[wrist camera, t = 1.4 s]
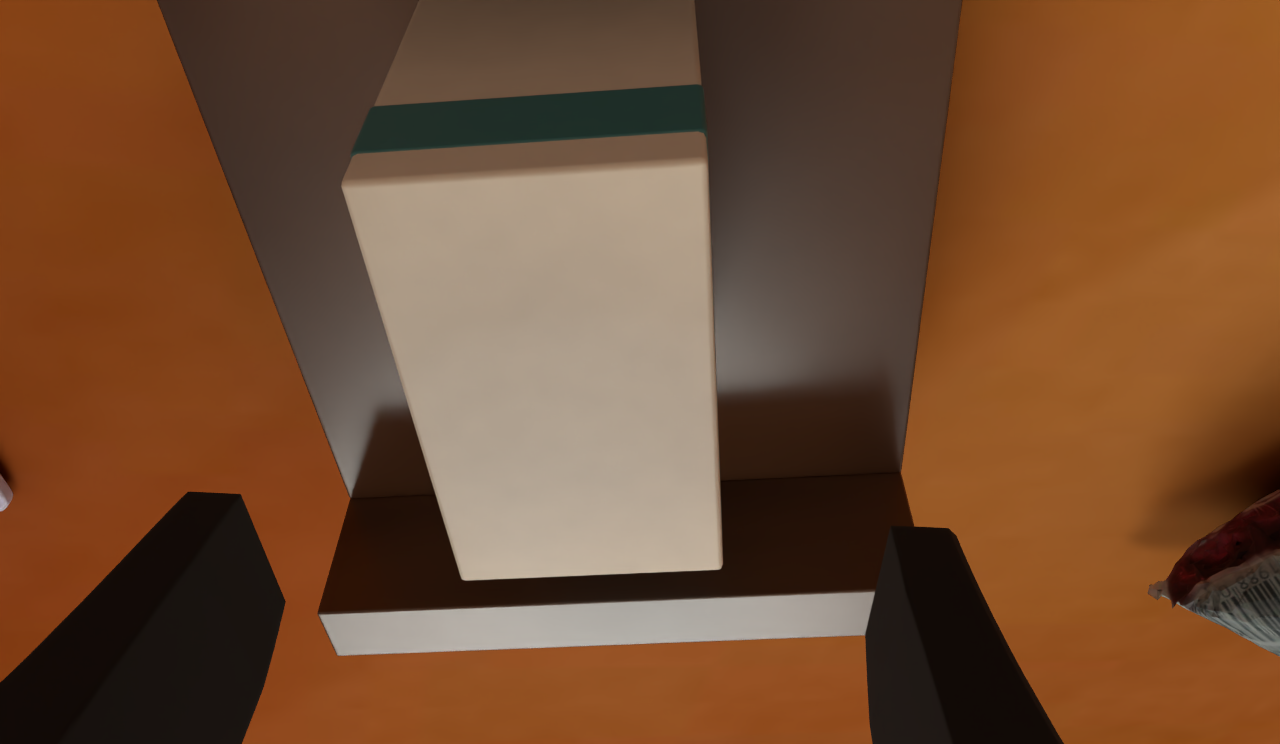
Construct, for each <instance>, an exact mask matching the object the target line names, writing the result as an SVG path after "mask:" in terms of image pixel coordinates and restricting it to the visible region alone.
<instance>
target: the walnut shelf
mask: <svg viewBox="0 0 1280 744" xmlns="http://www.w3.org/2000/svg"><path fill="white" fill-rule="evenodd" d="M157 1H158V4H159V7H160V9H161V12H162V14H163V17H164V20H165V22H166V25H167V27H168V30H169V32H170V35H171V38H172V40H173V43H174V45H175V48H176V51H177V53H178V56H179V58H180V61H181V63H182V66H183V69H184V71H185V74H186V76H187V79H188V81H189V84H190V87H191V89H192V92H193V94H194V97H195V100H196V102H197V105H198V107H199V110H200V112H201V115H202V118H203V120H204V123H205V125H206V128H207V131H208V133H209V136H210V138H211V141H212V143H213V146H214V149H215V151H216V154H217V156H218V159H219V162H220V164H221V167H222V169H223V172H224V174H225V177H226V180H227V182H228V185H229V187H230V190H231V193H232V195H233V198H234V200H235V203H236V205H237V208H238V211H239V213H240V216H241V218H242V221H243V223H244V226H245V229H246V231H247V234H248V236H249V239H250V242H251V244H252V247H253V249H254V252H255V254H256V257H257V260H258V262H259V265H260V267H261V270H262V273H263V275H264V278H265V280H266V283H267V285H268V288H269V291H270V293H271V296H272V298H273V301H274V304H275V306H276V309H277V311H278V314H279V316H280V319H281V322H282V324H283V327H284V329H285V332H286V334H287V337H288V340H289V342H290V345H291V347H292V350H293V353H294V355H295V358H296V360H297V363H298V365H299V368H300V371H301V373H302V376H303V378H304V381H305V384H306V386H307V389H308V391H309V394H310V396H311V399H312V402H313V404H314V407H315V409H316V412H317V415H318V417H319V420H320V422H321V425H322V427H323V430H324V433H325V435H326V438H327V440H328V443H329V446H330V448H331V451H332V453H333V456H334V458H335V461H336V464H337V466H338V469H339V471H340V474H341V476H342V479H343V482H344V484H345V487H346V489H347V492H348V495H349V497H350V502H349V505H348V509H347V512H346V516H345V519H344V523H343V526H342V530H341V533H340V537H339V540H338V544H337V547H336V551H335V554H334V558H333V561H332V565H331V568H330V572H329V575H328V578H327V582H326V585H325V589H324V592H323V596H322V599H321V603H320V606H319V610H318V616H319V618H320V620H321V622H322V624H323V626H324V629H325V631H326V633H327V635H328V637H329V639H330V641H331V643H332V646H333V648H334V650H335V652H336V654H337V655H338V656H346V655H371V654H397V653H423V652H448V651H474V650H500V649H525V648H551V647H577V646H602V645H628V644H654V643H679V642H705V641H731V640H756V639H782V638H808V637H833V636H859V635H865V633H866V628H867V624H868V620H869V616H870V611H871V607H872V603H873V599H874V594H875V590H876V586H877V582H878V577H879V573H880V569H881V565H882V560H883V556H884V552H885V548H886V543H887V539H888V535H889V530H890V526H911V527H914V523H913V519H912V515H911V511H910V507H909V503H908V499H907V495H906V491H905V487H904V483H903V479H902V475H901V469H902V462H903V454H904V446H905V438H906V431H907V423H908V415H909V408H910V400H911V392H912V385H913V377H914V369H915V361H916V354H917V346H918V338H919V331H920V323H921V315H922V308H923V300H924V292H925V284H926V277H927V269H928V261H929V254H930V246H931V238H932V230H933V223H934V215H935V207H936V200H937V192H938V184H939V177H940V169H941V161H942V153H943V146H944V138H945V130H946V123H947V115H948V107H949V99H950V92H951V84H952V76H953V69H954V61H955V53H956V46H957V38H958V30H959V22H960V15H961V7H962V0H694V2H695V14H696V26H697V38H698V49H699V61H700V73H701V85H702V87H703V89H704V98H705V110H706V121H707V132H708V159H709V186H710V213H711V240H712V267H713V294H714V321H715V348H716V375H717V402H718V429H719V456H720V483H721V510H722V547H723V565H722V568H721V569H719V570H701V571H677V572H654V573H630V574H607V575H584V576H560V577H537V578H513V579H490V580H467V581H466V580H463V579H461V576H460V573H459V570H458V566H457V563H456V560H455V557H454V553H453V550H452V547H451V544H450V540H449V537H448V534H447V530H446V527H445V524H444V521H443V517H442V514H441V511H440V508H439V504H438V501H437V498H436V494H435V491H434V488H433V485H432V481H431V478H430V475H429V472H428V468H427V465H426V462H425V458H424V455H423V452H422V449H421V445H420V442H419V439H418V435H417V432H416V429H415V426H414V422H413V419H412V416H411V413H410V409H409V406H408V403H407V399H406V396H405V393H404V390H403V386H402V383H401V380H400V377H399V373H398V370H397V367H396V363H395V360H394V357H393V354H392V350H391V347H390V344H389V341H388V337H387V334H386V331H385V327H384V324H383V321H382V318H381V314H380V311H379V308H378V305H377V301H376V298H375V295H374V291H373V288H372V285H371V282H370V278H369V275H368V272H367V269H366V265H365V262H364V259H363V255H362V252H361V249H360V246H359V242H358V239H357V236H356V233H355V229H354V226H353V223H352V219H351V216H350V213H349V210H348V206H347V203H346V200H345V197H344V193H343V190H342V187H341V185H342V180H343V178H344V175H345V173H346V171H347V168H348V166H349V164H350V161H351V157H350V155H351V151H352V149H353V146H354V144H355V142H356V140H357V137H358V135H359V133H360V130H361V128H362V126H363V123H364V121H365V119H366V116H367V114H368V112H369V109H370V108H372V107H374V105H375V103H376V100H377V98H378V96H379V93H380V91H381V89H382V86H383V84H384V81H385V79H386V77H387V74H388V72H389V70H390V67H391V65H392V63H393V60H394V58H395V56H396V53H397V51H398V49H399V46H400V44H401V42H402V39H403V37H404V35H405V32H406V30H407V28H408V25H409V23H410V20H411V18H412V16H413V13H414V11H415V9H416V6H417V4H418V2H419V0H157Z"/></svg>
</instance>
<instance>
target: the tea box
mask: <svg viewBox="0 0 1280 744" xmlns="http://www.w3.org/2000/svg"><path fill="white" fill-rule="evenodd" d="M350 157H351V161H350V164H349V166H348V168H347V171H346V173H345V175H344V178H343V180H342V185H341V187H342V190H343V193H344V197H345V200H346V203H347V206H348V210H349V213H350V216H351V219H352V223H353V226H354V229H355V233H356V236H357V239H358V242H359V246H360V249H361V252H362V255H363V259H364V262H365V265H366V269H367V272H368V275H369V278H370V282H371V285H372V288H373V291H374V295H375V298H376V301H377V305H378V308H379V311H380V314H381V318H382V321H383V324H384V327H385V331H386V334H387V337H388V341H389V344H390V347H391V350H392V354H393V357H394V360H395V363H396V367H397V370H398V373H399V377H400V380H401V383H402V386H403V390H404V393H405V396H406V399H407V403H408V406H409V409H410V413H411V416H412V419H413V422H414V426H415V429H416V432H417V435H418V439H419V442H420V445H421V449H422V452H423V455H424V458H425V462H426V465H427V468H428V472H429V475H430V478H431V481H432V485H433V488H434V491H435V494H436V498H437V501H438V504H439V508H440V511H441V514H442V517H443V521H444V524H445V527H446V530H447V534H448V537H449V540H450V544H451V547H452V550H453V553H454V557H455V560H456V563H457V566H458V570H459V573H460V576H461V579H463V580H466V581H467V580H490V579H513V578H537V577H560V576H584V575H607V574H630V573H654V572H677V571H701V570H719V569H721V568H722V565H723V547H722V510H721V483H720V456H719V429H718V402H717V375H716V348H715V321H714V294H713V267H712V240H711V213H710V186H709V159H708V132H707V121H706V110H705V98H704V89H703V87H702V85H701V73H700V61H699V49H698V38H697V26H696V14H695V2H694V0H419V2H418V4H417V6H416V9H415V11H414V13H413V16H412V18H411V20H410V23H409V25H408V28H407V30H406V32H405V35H404V37H403V39H402V42H401V44H400V46H399V49H398V51H397V53H396V56H395V58H394V60H393V63H392V65H391V67H390V70H389V72H388V74H387V77H386V79H385V81H384V84H383V86H382V89H381V91H380V93H379V96H378V98H377V100H376V103H375V105H374V107H372V108H370V109H369V112H368V114H367V116H366V119H365V121H364V123H363V126H362V128H361V130H360V133H359V135H358V137H357V140H356V142H355V144H354V146H353V149H352V151H351V155H350Z"/></svg>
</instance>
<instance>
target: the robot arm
mask: <svg viewBox="0 0 1280 744" xmlns="http://www.w3.org/2000/svg"><path fill="white" fill-rule="evenodd" d="M12 497H13V493H12V490H11V489H10V487H9V486H8V484H7V483H6V481H5V480H4V479H3V477H2V476H1V474H0V511H3V510H4V509H6V508H7V506H8V505H9V503H10V502H11V500H12ZM284 606H285V599H284V597H283V594H282V592H281V590H280V587H279V585H278V583H277V580H276V578H275V575H274V573H273V571H272V568H271V566H270V563H269V561H268V559H267V556H266V554H265V551H264V549H263V547H262V544H261V542H260V539H259V537H258V535H257V532H256V530H255V528H254V525H253V523H252V520H251V518H250V516H249V513H248V511H247V508H246V506H245V504H244V501H243V499H242V496H241V494H225V493H205V492H187V493H186V494H185V495H184V496H183V497H182V498H181V499H180V500H179V501H178V502H177V503H176V504H175V505H174V506H173V507H172V508H171V509H170V510H169V511H168V512H167V513H166V514H165V515H164V516H163V518H162V519H161V520H160V521H159V522H158V523H157V524H156V525H155V526H154V527H153V528H152V529H151V530H150V531H149V532H148V533H147V534H146V535H145V536H144V537H143V539H142V540H141V541H140V542H139V543H138V544H137V545H136V546H135V547H134V548H133V549H132V550H131V551H130V552H129V553H128V554H127V555H126V556H125V557H124V559H123V560H122V561H121V562H120V563H119V564H118V565H117V566H116V567H115V568H114V569H113V570H112V571H111V572H110V573H109V574H108V575H107V576H106V577H105V578H104V579H103V581H102V582H101V583H100V584H99V585H98V586H97V587H96V588H95V589H94V590H93V591H92V592H91V593H90V594H89V595H88V596H87V597H86V598H85V599H84V600H83V601H82V602H81V603H80V604H79V605H78V606H77V607H76V608H75V609H74V610H73V611H72V612H71V613H70V614H69V615H68V616H67V617H66V618H65V619H64V620H63V621H62V622H61V623H60V624H59V625H58V626H57V627H56V628H55V629H54V631H53V632H52V633H51V634H50V635H49V636H48V637H47V638H46V639H45V640H44V641H43V642H42V643H41V644H40V645H39V646H38V647H37V648H36V649H35V650H34V651H33V652H32V653H31V654H30V655H29V656H28V657H27V658H26V659H25V660H24V661H23V662H21V663H20V664H19V665H18V666H17V667H16V668H15V669H14V670H13V671H12V672H11V673H10V674H9V675H8V676H7V677H6V678H5V679H4V680H3V681H2V682H0V744H242V742H243V739H244V736H245V734H246V731H247V729H248V726H249V724H250V721H251V719H252V716H253V713H254V711H255V708H256V706H257V703H258V700H259V698H260V695H261V693H262V690H263V687H264V684H265V680H266V676H267V673H268V669H269V665H270V662H271V658H272V654H273V651H274V647H275V643H276V639H277V635H278V631H279V627H280V622H281V618H282V614H283V610H284ZM865 638H866V661H867V684H868V701H869V719H870V729H871V736H872V742H873V744H1064V743H1063V742H1062V740H1061V738H1060V737H1059V735H1058V733H1057V732H1056V730H1055V728H1054V726H1053V725H1052V723H1051V721H1050V719H1049V718H1048V716H1047V714H1046V712H1045V711H1044V709H1043V707H1042V705H1041V704H1040V702H1039V700H1038V698H1037V697H1036V695H1035V693H1034V692H1033V690H1032V688H1031V686H1030V685H1029V683H1028V681H1027V679H1026V678H1025V676H1024V674H1023V672H1022V670H1021V668H1020V667H1019V665H1018V663H1017V661H1016V659H1015V657H1014V655H1013V654H1012V652H1011V650H1010V648H1009V646H1008V644H1007V642H1006V640H1005V638H1004V636H1003V634H1002V632H1001V630H1000V628H999V627H998V625H997V623H996V621H995V619H994V617H993V615H992V613H991V611H990V609H989V607H988V605H987V603H986V601H985V599H984V596H983V594H982V592H981V590H980V588H979V586H978V584H977V582H976V580H975V577H974V575H973V573H972V571H971V569H970V566H969V564H968V562H967V560H966V557H965V555H964V553H963V551H962V548H961V546H960V543H959V541H958V539H957V536H956V535H955V534H954V533H953V532H952V531H951V530H950V529H949V528H932V527H911V526H890V530H889V535H888V539H887V543H886V548H885V552H884V556H883V560H882V565H881V569H880V573H879V577H878V582H877V586H876V590H875V594H874V599H873V603H872V607H871V611H870V616H869V620H868V624H867V628H866V633H865Z"/></svg>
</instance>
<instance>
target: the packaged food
mask: <svg viewBox="0 0 1280 744" xmlns="http://www.w3.org/2000/svg"><path fill="white" fill-rule="evenodd" d="M1148 594H1149V595H1151V596H1153V597H1154V598H1155V599H1157V600H1158V599H1159V598H1160V597H1161V596H1163V597H1165V598H1168V599H1170V600H1171V602H1172V608H1173V607H1174V606H1175V605H1176V603H1177V604H1178V605H1180V606H1182V607H1184V608H1185V609H1187V610H1189V611H1192V612H1194V613H1196V614H1198V615H1200V616H1202V617H1204V618H1206V619H1208V620H1210V621H1212V622H1215V623H1217V624H1219V625H1222V626H1224V627H1226V628H1228V629H1229V630H1231V631H1233V632H1235V633H1236V634H1238V635H1240V636H1242V637H1244V638H1246V639H1248V640H1250V641H1252V642H1253V643H1255V644H1256V645H1258V646H1260V647H1262V648H1264V649H1266V650H1268V651H1270V652H1272V653H1274V654H1276V655H1278V656H1280V489H1279V490H1277V491H1275V492H1273V493H1271V494H1269V495H1267V496H1265V497H1263V498H1262V499H1260V500H1258V501H1256V502H1255V503H1254V504H1252V505H1251V506H1249V507H1248V508H1246V509H1245V510H1244V511H1242V512H1241V513H1239V514H1238V515H1236V516H1235V517H1234V518H1233V519H1232V520H1231V521H1229V522H1227V523H1225V524H1223V525H1221V526H1219V527H1218V528H1216V529H1215V530H1214V531H1212V532H1211V533H1209V534H1208V535H1207V536H1205V537H1203V538H1201V539H1199V540H1197V541H1196V542H1195V543H1194V544H1193V545H1191V546H1190V547H1189V548H1188V549H1187V550H1186V552H1185V553H1184V555H1183V556H1182V558H1181V559H1180V560H1179V561H1178V562H1177V563H1176V564H1175V566H1174V568H1173V570H1172V572H1171V573H1170V575H1169V576H1168V578H1167V579H1166V580H1165V581H1158V582H1157V583H1155V584H1154V585H1149V590H1148Z"/></svg>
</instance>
